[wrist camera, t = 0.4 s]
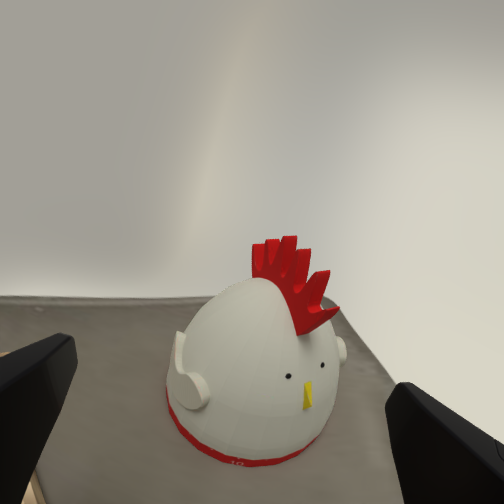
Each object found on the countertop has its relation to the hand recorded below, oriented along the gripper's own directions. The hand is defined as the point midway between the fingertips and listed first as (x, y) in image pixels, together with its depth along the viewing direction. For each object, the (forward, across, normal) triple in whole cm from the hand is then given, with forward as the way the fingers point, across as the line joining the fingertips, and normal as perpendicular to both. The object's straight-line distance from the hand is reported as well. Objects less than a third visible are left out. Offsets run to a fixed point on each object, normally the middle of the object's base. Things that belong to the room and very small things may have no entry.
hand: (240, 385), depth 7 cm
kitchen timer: (+13, -3, +14) cm, 20 cm away
